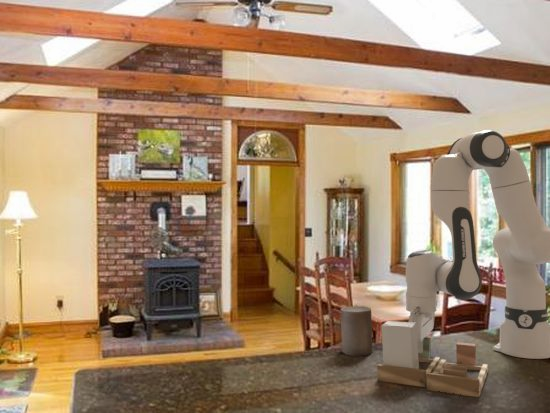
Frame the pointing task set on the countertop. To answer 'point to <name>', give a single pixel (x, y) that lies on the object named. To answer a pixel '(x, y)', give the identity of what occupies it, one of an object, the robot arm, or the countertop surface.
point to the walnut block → (455, 370)
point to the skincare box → (400, 344)
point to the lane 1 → (410, 369)
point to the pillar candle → (356, 330)
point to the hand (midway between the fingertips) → (421, 350)
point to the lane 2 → (457, 383)
